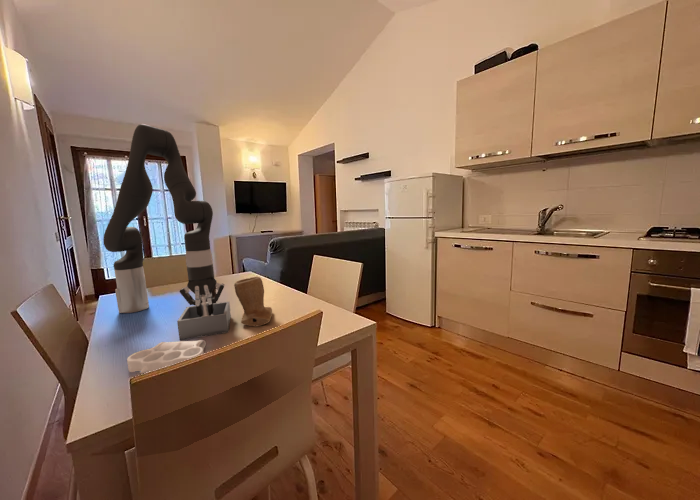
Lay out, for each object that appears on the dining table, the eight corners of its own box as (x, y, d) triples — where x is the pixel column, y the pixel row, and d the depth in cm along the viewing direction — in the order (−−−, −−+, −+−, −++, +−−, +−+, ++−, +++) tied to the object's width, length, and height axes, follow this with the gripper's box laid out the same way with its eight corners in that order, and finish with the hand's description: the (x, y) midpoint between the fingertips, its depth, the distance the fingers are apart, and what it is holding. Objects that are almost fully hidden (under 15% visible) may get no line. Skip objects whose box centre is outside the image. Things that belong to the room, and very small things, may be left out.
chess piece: (218, 317, 98) (214, 288, 96) (205, 323, 93) (201, 293, 92) (207, 316, 100) (203, 287, 98) (195, 321, 95) (190, 292, 94)
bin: (179, 340, 88) (177, 321, 87) (188, 323, 101) (186, 306, 100) (227, 332, 92) (226, 314, 92) (230, 317, 105) (229, 301, 104)
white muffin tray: (217, 347, 84) (192, 377, 69) (153, 350, 83) (114, 381, 69) (216, 336, 83) (190, 363, 69) (152, 339, 83) (112, 368, 68)
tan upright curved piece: (241, 313, 109) (237, 274, 106) (274, 310, 111) (270, 272, 108) (232, 330, 94) (227, 285, 92) (270, 326, 96) (266, 282, 94)
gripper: (224, 259, 99) (229, 308, 102) (178, 263, 95) (184, 314, 98) (222, 263, 92) (227, 316, 95) (172, 268, 88) (179, 322, 91)
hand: (205, 315), depth 96 cm, fingers closed on chess piece
